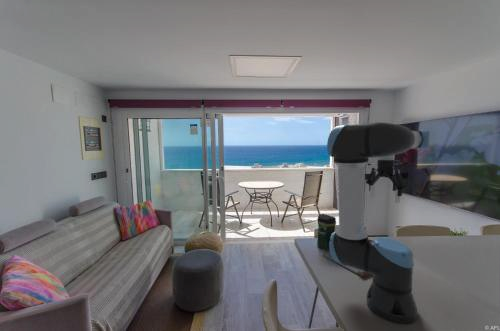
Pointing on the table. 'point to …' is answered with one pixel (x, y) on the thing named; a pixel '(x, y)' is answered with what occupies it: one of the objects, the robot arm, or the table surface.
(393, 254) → the robot arm
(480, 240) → the table surface
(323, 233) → the coffee jar
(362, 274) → the walnut stop strip
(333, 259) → the rubber mat
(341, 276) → the table surface
